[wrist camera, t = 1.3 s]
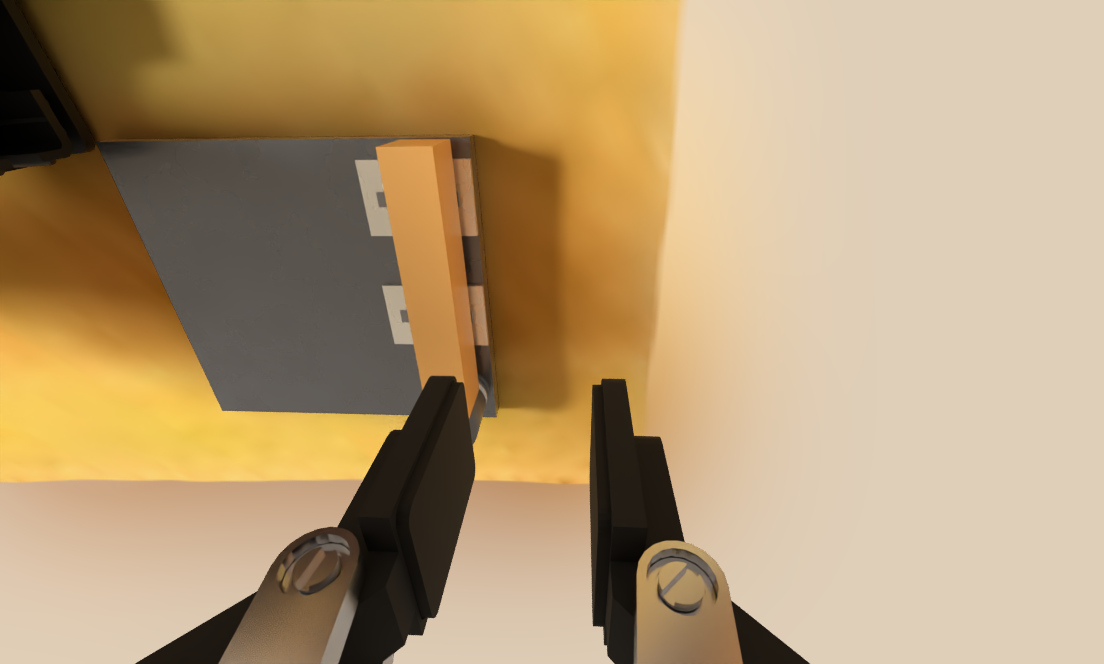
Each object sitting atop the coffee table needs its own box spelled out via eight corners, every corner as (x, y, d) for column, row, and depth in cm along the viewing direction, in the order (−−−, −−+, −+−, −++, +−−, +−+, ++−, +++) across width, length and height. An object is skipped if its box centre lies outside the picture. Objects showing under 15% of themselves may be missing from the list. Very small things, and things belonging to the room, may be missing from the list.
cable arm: (488, 420, 30) (479, 451, 28) (441, 419, 31) (428, 450, 28) (457, 138, 22) (440, 146, 19) (393, 139, 22) (367, 147, 19)
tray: (233, 400, 33) (217, 415, 32) (116, 139, 25) (86, 142, 23) (499, 406, 32) (495, 421, 31) (473, 134, 24) (466, 138, 22)
